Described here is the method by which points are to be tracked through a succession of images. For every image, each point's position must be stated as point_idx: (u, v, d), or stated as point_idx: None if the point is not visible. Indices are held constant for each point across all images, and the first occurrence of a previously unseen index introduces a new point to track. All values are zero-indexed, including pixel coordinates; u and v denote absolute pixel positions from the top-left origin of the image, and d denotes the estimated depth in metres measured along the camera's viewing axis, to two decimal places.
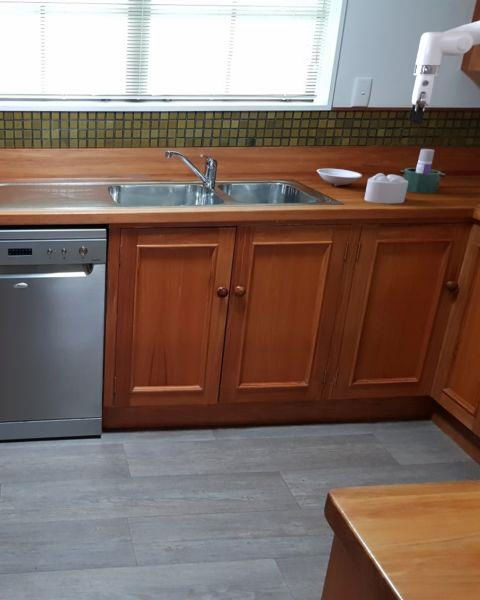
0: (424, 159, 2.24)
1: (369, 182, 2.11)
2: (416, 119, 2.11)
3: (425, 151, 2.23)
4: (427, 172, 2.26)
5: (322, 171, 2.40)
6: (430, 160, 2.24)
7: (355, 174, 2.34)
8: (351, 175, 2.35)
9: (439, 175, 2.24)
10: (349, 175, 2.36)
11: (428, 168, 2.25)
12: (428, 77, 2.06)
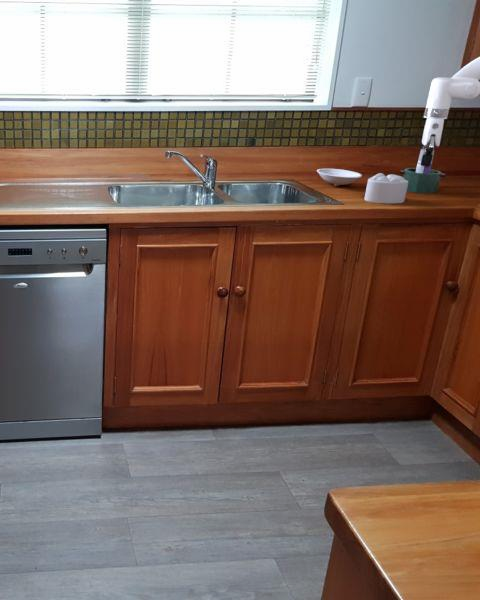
0: None
1: (369, 182, 2.11)
2: (425, 162, 2.23)
3: None
4: (427, 172, 2.26)
5: (322, 171, 2.40)
6: None
7: (355, 174, 2.34)
8: (351, 175, 2.35)
9: (439, 175, 2.24)
10: (349, 175, 2.36)
11: (428, 168, 2.25)
12: (438, 120, 2.16)
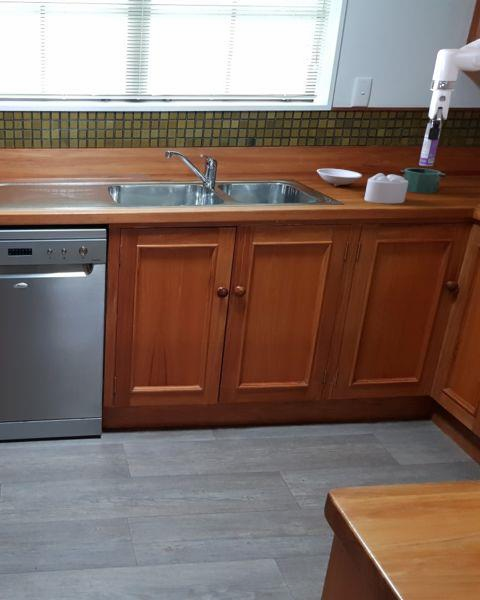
0: None
1: (369, 182, 2.11)
2: (432, 135, 2.19)
3: None
4: (434, 146, 2.22)
5: (322, 171, 2.40)
6: None
7: (355, 174, 2.34)
8: (351, 175, 2.35)
9: (439, 175, 2.24)
10: (349, 175, 2.36)
11: (435, 142, 2.21)
12: (445, 92, 2.12)
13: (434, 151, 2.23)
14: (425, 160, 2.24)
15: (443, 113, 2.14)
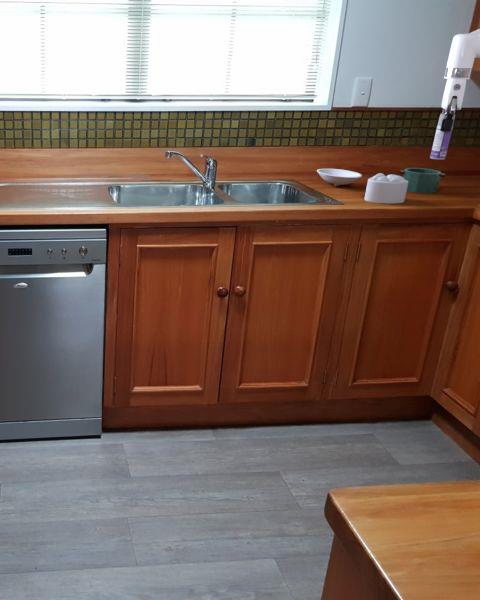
0: None
1: (369, 182, 2.11)
2: (445, 127, 2.06)
3: None
4: (447, 138, 2.08)
5: (322, 171, 2.40)
6: None
7: (355, 174, 2.34)
8: (351, 175, 2.35)
9: (439, 175, 2.24)
10: (349, 175, 2.36)
11: (448, 134, 2.08)
12: (460, 81, 1.99)
13: (447, 143, 2.09)
14: (437, 153, 2.11)
15: (457, 103, 2.01)
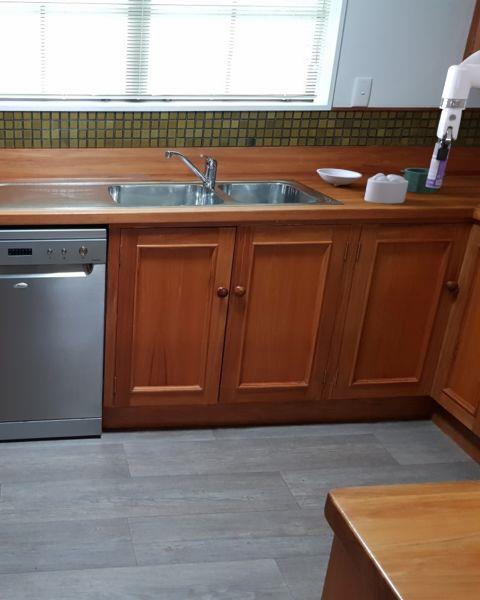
0: None
1: (369, 182, 2.11)
2: (441, 156, 2.07)
3: None
4: (443, 167, 2.09)
5: (322, 171, 2.40)
6: None
7: (355, 174, 2.34)
8: (351, 175, 2.35)
9: None
10: (349, 175, 2.36)
11: (444, 163, 2.09)
12: (455, 111, 2.00)
13: (442, 172, 2.10)
14: (432, 182, 2.12)
15: (453, 133, 2.02)
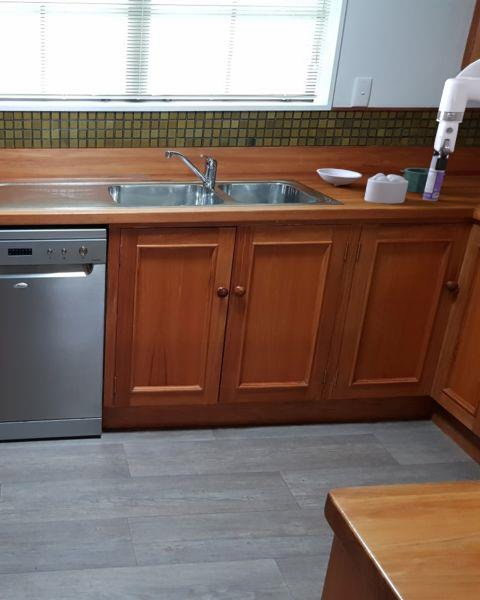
0: None
1: (369, 182, 2.11)
2: (439, 166, 2.06)
3: None
4: (439, 181, 2.11)
5: (322, 171, 2.40)
6: None
7: (355, 174, 2.34)
8: (351, 175, 2.35)
9: None
10: (349, 175, 2.36)
11: (441, 176, 2.11)
12: (452, 124, 2.02)
13: (439, 185, 2.12)
14: (429, 195, 2.14)
15: (450, 146, 2.04)
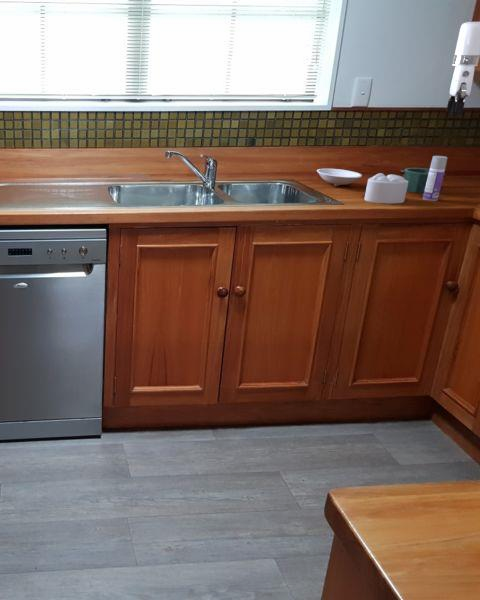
0: (436, 167, 2.10)
1: (369, 182, 2.11)
2: (456, 110, 2.09)
3: (437, 158, 2.09)
4: (439, 181, 2.11)
5: (322, 171, 2.40)
6: (443, 168, 2.10)
7: (355, 174, 2.34)
8: (351, 175, 2.35)
9: None
10: (349, 175, 2.36)
11: (441, 176, 2.11)
12: (468, 68, 2.04)
13: (439, 185, 2.12)
14: (429, 195, 2.14)
15: (466, 89, 2.06)
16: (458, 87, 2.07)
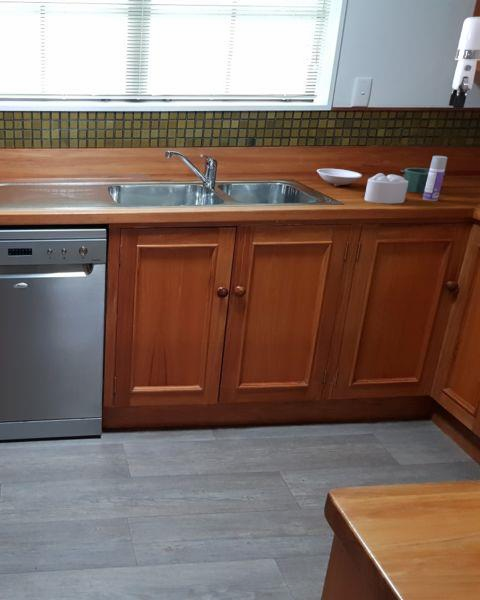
0: (436, 167, 2.10)
1: (369, 182, 2.11)
2: (458, 104, 2.13)
3: (437, 158, 2.09)
4: (439, 181, 2.11)
5: (322, 171, 2.40)
6: (443, 168, 2.10)
7: (355, 174, 2.34)
8: (351, 175, 2.35)
9: None
10: (349, 175, 2.36)
11: (441, 176, 2.11)
12: (471, 62, 2.08)
13: (439, 185, 2.12)
14: (429, 195, 2.14)
15: (468, 83, 2.10)
16: (460, 81, 2.11)
